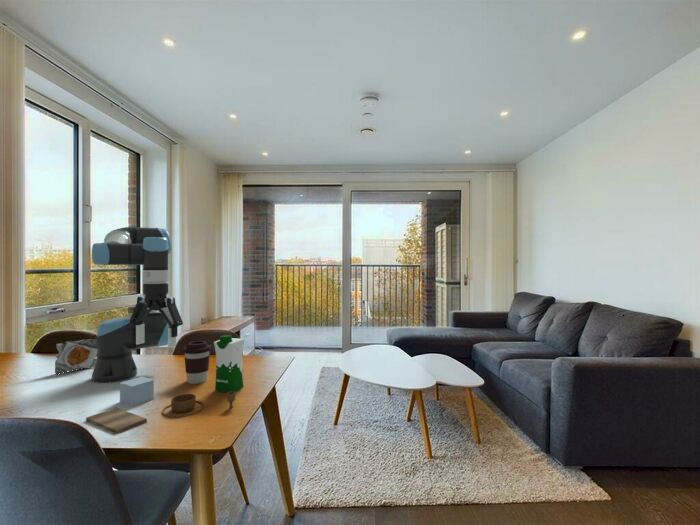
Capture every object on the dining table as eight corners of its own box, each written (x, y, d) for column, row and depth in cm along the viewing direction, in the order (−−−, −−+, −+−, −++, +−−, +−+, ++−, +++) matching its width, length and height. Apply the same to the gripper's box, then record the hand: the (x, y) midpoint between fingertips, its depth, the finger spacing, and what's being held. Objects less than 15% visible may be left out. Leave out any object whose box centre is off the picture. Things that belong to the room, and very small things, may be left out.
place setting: (194, 399, 118) (194, 382, 118) (238, 410, 110) (238, 391, 110) (144, 421, 102) (144, 401, 102) (192, 435, 94) (192, 413, 94)
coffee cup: (200, 386, 129) (200, 346, 129) (177, 384, 131) (177, 345, 131) (216, 377, 139) (216, 340, 139) (194, 376, 141) (194, 339, 141)
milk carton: (211, 392, 123) (211, 336, 123) (227, 383, 132) (227, 331, 132) (231, 395, 120) (231, 338, 120) (247, 386, 129) (247, 333, 129)
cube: (119, 404, 113) (119, 382, 113) (141, 396, 119) (141, 376, 119) (132, 408, 110) (132, 386, 110) (153, 400, 116) (153, 379, 116)
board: (86, 423, 99) (86, 417, 99) (116, 413, 106) (116, 407, 106) (116, 437, 91) (116, 430, 91) (146, 424, 98) (146, 418, 98)
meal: (57, 377, 140) (57, 344, 140) (54, 374, 143) (54, 343, 143) (101, 368, 152) (101, 338, 152) (98, 366, 154) (98, 337, 154)
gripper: (117, 282, 117) (117, 344, 117) (177, 284, 110) (177, 350, 110) (137, 281, 124) (137, 340, 125) (194, 282, 117) (194, 345, 117)
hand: (155, 345), depth 117 cm, fingers open, 13 cm apart
